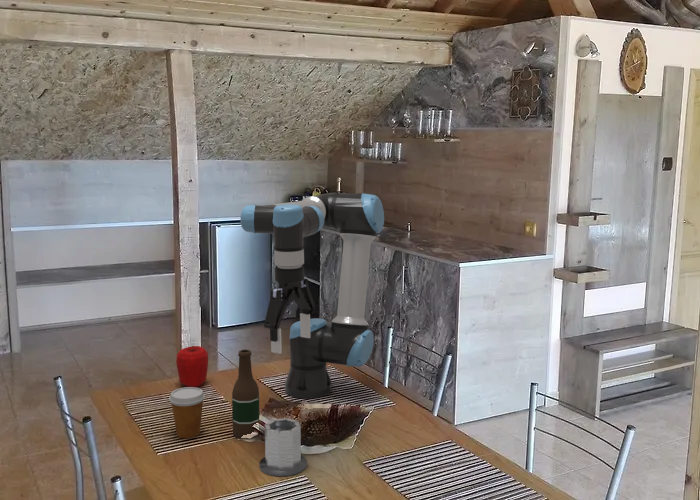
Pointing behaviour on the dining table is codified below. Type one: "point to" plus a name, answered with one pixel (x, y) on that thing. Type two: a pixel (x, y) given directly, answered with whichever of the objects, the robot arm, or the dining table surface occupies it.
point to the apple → (192, 366)
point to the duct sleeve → (282, 444)
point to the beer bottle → (245, 398)
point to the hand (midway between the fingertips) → (291, 344)
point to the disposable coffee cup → (187, 411)
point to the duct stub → (283, 473)
